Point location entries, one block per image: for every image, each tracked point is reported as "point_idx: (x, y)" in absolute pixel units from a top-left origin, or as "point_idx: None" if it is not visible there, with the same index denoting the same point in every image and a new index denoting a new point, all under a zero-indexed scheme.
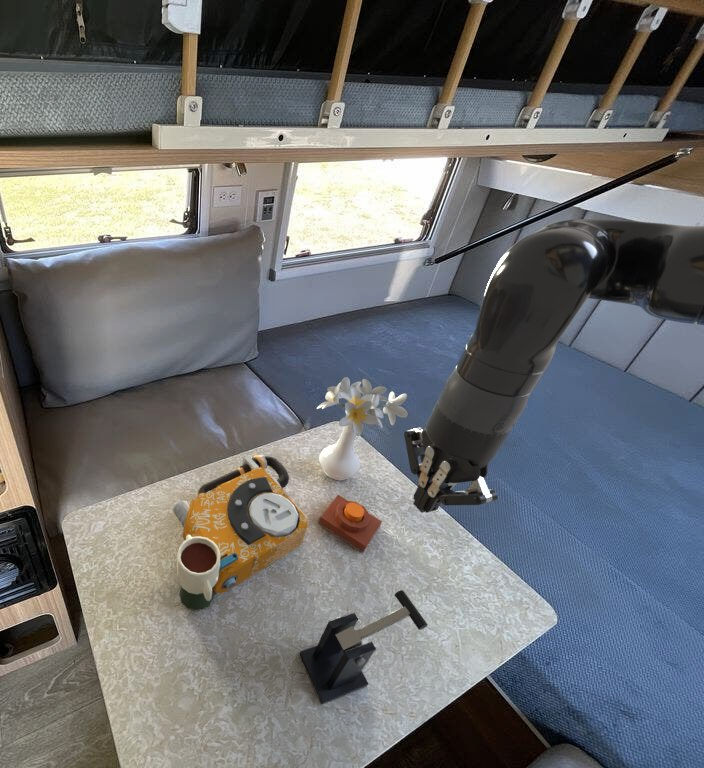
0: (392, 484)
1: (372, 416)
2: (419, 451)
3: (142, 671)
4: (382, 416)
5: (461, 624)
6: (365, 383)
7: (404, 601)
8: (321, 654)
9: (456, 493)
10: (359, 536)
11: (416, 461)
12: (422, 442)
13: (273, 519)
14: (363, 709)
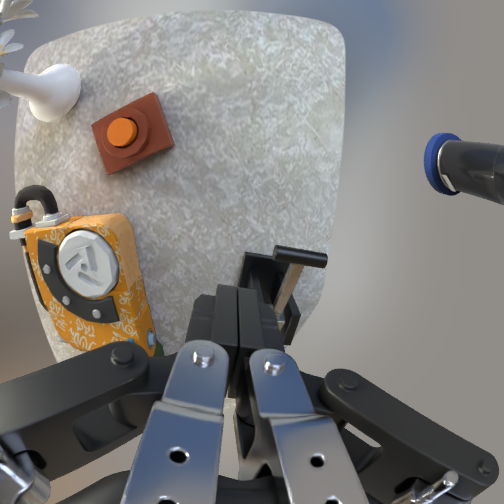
0: (120, 33)
1: None
2: (65, 456)
3: None
4: (12, 32)
5: (304, 110)
6: None
7: (290, 262)
8: None
9: (340, 418)
10: (155, 142)
11: (110, 449)
12: (39, 501)
13: (94, 275)
14: (301, 274)
